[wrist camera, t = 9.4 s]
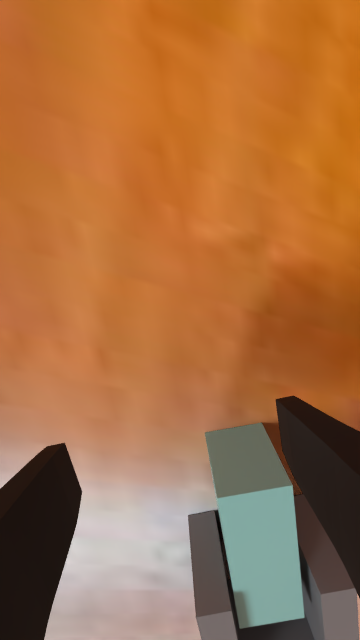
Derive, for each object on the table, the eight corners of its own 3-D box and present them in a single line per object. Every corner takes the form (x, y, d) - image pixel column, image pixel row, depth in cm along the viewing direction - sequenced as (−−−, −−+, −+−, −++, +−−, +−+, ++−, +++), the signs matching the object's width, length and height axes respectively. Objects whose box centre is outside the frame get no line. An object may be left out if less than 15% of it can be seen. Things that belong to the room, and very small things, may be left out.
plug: (261, 421, 22) (292, 485, 17) (273, 531, 25) (304, 617, 20) (204, 431, 23) (217, 498, 17) (223, 540, 25) (239, 628, 20)
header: (306, 493, 24) (356, 587, 18) (318, 621, 28) (363, 737, 22) (188, 515, 24) (196, 617, 18) (216, 640, 28) (231, 760, 22)
